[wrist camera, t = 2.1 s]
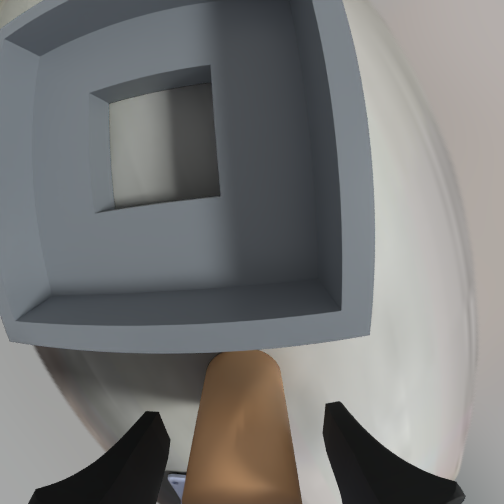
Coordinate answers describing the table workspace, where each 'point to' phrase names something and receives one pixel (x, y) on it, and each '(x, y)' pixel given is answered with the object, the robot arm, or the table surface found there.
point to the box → (188, 210)
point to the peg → (242, 435)
